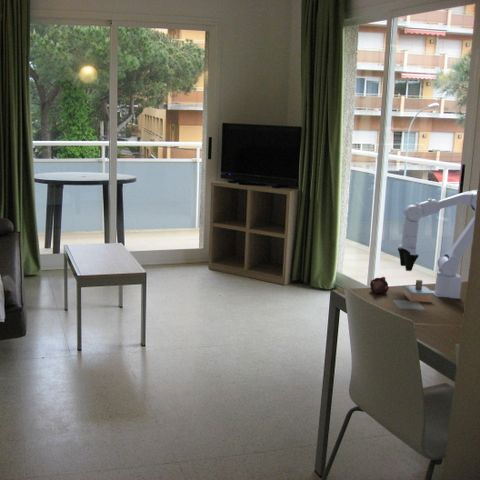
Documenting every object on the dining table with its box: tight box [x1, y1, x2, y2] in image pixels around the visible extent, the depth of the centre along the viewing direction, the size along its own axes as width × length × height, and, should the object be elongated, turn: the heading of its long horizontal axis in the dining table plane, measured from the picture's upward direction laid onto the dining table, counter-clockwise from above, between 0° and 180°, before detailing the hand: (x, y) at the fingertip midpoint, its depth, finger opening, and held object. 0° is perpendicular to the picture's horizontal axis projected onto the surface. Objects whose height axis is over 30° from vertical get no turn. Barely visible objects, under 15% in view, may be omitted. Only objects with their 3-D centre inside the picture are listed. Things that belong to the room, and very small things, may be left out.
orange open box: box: [404, 289, 433, 303], centre depth 267 cm, size 8×8×4 cm
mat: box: [392, 299, 426, 311], centre depth 258 cm, size 10×10×1 cm
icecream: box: [369, 276, 389, 295], centre depth 271 cm, size 7×7×15 cm
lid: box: [402, 279, 435, 296], centre depth 266 cm, size 9×9×4 cm
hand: (405, 268), depth 275 cm, fingers open, 7 cm apart
